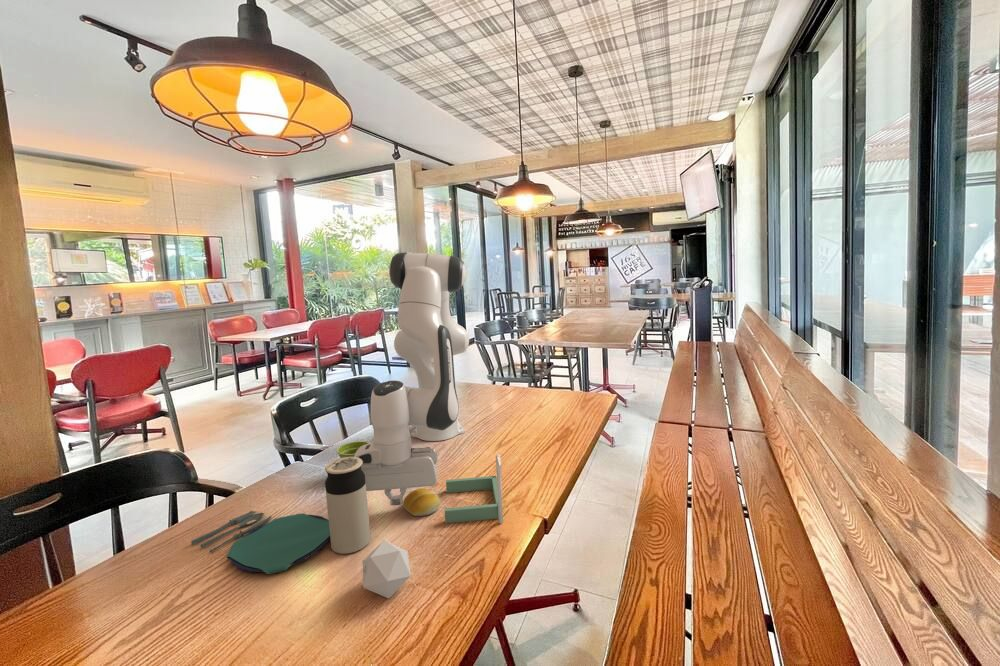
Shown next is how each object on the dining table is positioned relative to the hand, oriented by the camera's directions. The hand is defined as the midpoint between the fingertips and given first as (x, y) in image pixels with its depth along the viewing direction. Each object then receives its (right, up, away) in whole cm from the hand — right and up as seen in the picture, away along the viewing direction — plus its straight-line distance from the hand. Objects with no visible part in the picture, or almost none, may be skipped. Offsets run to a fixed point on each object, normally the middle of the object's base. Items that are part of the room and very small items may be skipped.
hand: (396, 504), depth 106 cm
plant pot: (-16, 0, +20) cm, 25 cm away
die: (+5, -5, -26) cm, 27 cm away
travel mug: (-7, -4, -12) cm, 15 cm away
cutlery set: (-26, -5, -10) cm, 28 cm away
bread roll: (+6, -1, +1) cm, 6 cm away
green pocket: (+19, -1, -2) cm, 19 cm away
